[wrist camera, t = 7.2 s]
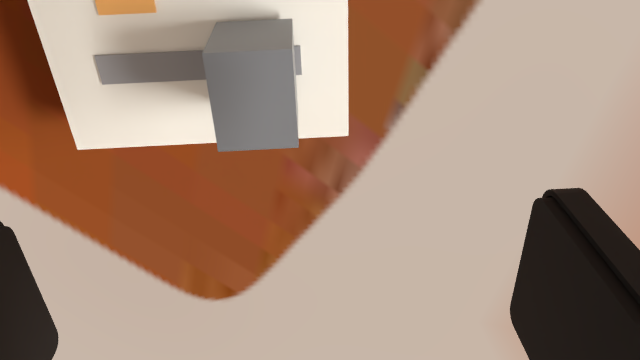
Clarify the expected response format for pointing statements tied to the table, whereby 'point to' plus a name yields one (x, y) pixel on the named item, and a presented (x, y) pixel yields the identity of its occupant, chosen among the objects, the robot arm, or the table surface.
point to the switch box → (179, 65)
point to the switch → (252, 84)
